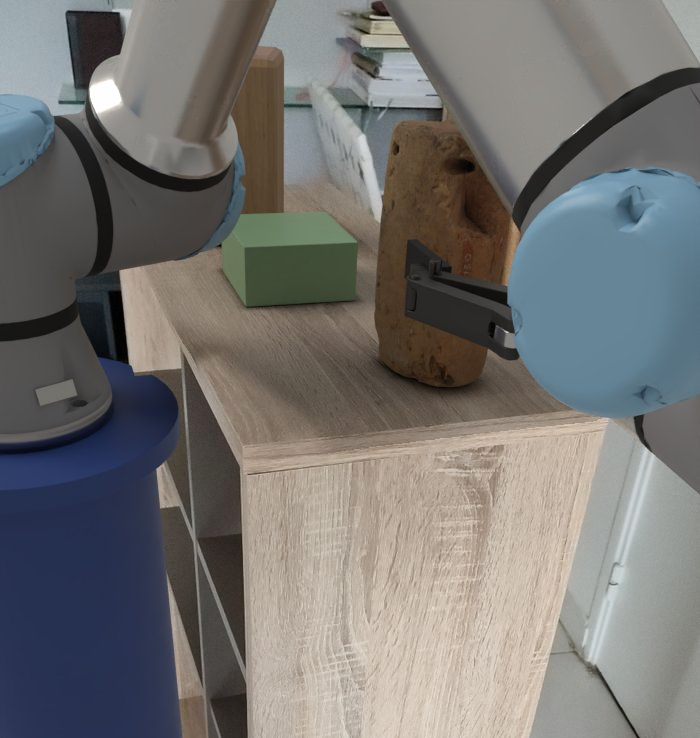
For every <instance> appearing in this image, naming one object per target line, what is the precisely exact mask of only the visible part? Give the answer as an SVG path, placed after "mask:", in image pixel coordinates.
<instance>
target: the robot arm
mask: <svg viewBox="0 0 700 738" xmlns="http://www.w3.org/2000/svg"><path fill="white" fill-rule="evenodd" d="M277 1H278V0H133V5H132V9H131V12H130V16H129V20H128V24H127V28H126V31H125V34H124V39H123V42H122V45H121V49H120V53H119V54H117V55H114V56H111V57H109V58H107V59H105V60H104V61H102V62H101V63H99V65H97V67H96V68H95V69H94V71H93V73H92V75H91V77H90V80H89V85H88V88H87V92H86V97H85V100H84V104H83V108H82V109H81V111H79V112H78V113H69V114H58V115H53V114H52V112H51V110H50V108H49V106H48V105H47V104H46V103H45V102H44V100H41V99H40V98H37V97H35V96H31V95H23V94H13V93H12V94H11V93H0V454H22V453H32V452H39V451H45V450H50V449H54V448H58V447H62V446H65V445H69V444H72V443H74V442H77V441H79V440H82V439H84V438H86V437H88V436H90V435H92V434H93V433H95V432H97V431H98V430H100V429H101V428H102V427H103V426H104V425H105V424H106V423H107V422H108V421H109V420H110V418H111V416H112V414H113V410H114V406H113V398H112V390H111V385H110V382H109V381H108V378H107V376H106V374H105V372H104V370H103V368H102V366H101V364H100V362H99V359H98V355H97V353H96V351H95V349H94V347H93V345H92V343H91V341H90V339H89V336H88V334H87V333H86V330H85V328H84V327H83V324H82V322H81V321H82V320H81V318H80V311H79V304H78V298H77V289H76V281H77V280H80V279H84V278H88V277H89V278H90V277H95V276H97V275H103V274H108V273H113V272H118V271H123V270H130V269H135V268H140V267H145V266H150V265H157V264H161V263H162V264H163V263H167V262H178V261H179V262H180V261H183V260H187V259H190V258H193V257H196V256H198V255H199V254H200V253H205V252H208V251H210V250H212V249H215V248H217V247H218V246H219V244H221V243H222V242H223V241H224V240H225V239H226V238H227V237H228V236H229V235H230V233H231V232H232V231H233V229H234V227H235V226H236V224H237V222H238V219H239V217H240V214H241V211H242V208H243V203H244V197H245V188H244V186H242V184H241V181H240V180H241V177H242V176H244V175H245V164H244V158H243V154H242V150H241V148H240V145H239V141H238V135H237V130H236V126H235V123H234V120H233V118H232V116H231V114H230V113H231V111H232V108H233V106H234V104H235V101H236V99H237V96H238V94H239V91H240V89H241V87H242V84H243V82H244V79H245V77H246V74H247V72H248V69H249V67H250V65H251V62H252V60H253V57H254V55H255V52H256V50H257V48H258V46H260V43H261V40H262V38H263V35H264V33H265V31H266V28H267V26H268V23H269V21H270V18H271V15H272V13H273V11H274V9H275V7H276V3H277ZM380 1H381V2H382V4H383V5H384V8H385V9H386V10H387V12H388V14H389V16H390V17H391V19H392V21H393V23H394V24H395V26H396V28H397V29H398V31H399V32H400V34H401V36H402V38H403V39H404V41H405V42H406V44H407V45H408V47H409V49H410V51H411V53H412V54H413V56H414V57H415V59H416V61H417V62H418V64H419V66H420V68H421V70H422V71H423V73H424V74H425V76H426V78H427V79H428V81H429V83H430V84H431V86H432V87H433V89H434V91H435V93H436V95H437V96H438V98H439V100H440V101H441V103H442V105H443V106H444V108H445V110H446V112H447V113H448V114H449V116H450V118H451V120H452V121H454V123H455V124H456V126H457V128H458V129H459V131H460V133H461V134H462V136H463V138H464V139H465V141H466V143H467V145H468V146H469V148H470V150H471V151H472V153H473V155H474V156H475V158H476V160H477V161H478V163H479V165H480V166H481V168H482V170H483V171H484V173H485V175H486V176H487V178H488V180H489V181H490V183H491V185H492V186H493V188H494V190H495V191H496V193H497V195H498V196H499V198H500V200H501V201H502V203H503V205H504V206H505V208H506V210H507V211H508V213H509V215H510V219H511V220H512V222H513V224H514V225H515V227H516V228H517V230H518V232H519V233H520V235H521V239H520V241H519V243H518V245H517V247H516V249H515V252H514V255H513V258H512V264H511V268H510V273H509V277H508V281H507V285H505V284H499V283H498V284H496V283H492V282H487V281H483V280H479V279H474V278H470V277H465V276H461V275H457V274H452V273H451V271H452V266H451V265H449V264H448V263H447V262H445V261H444V260H443V259H442V258H440V257H439V256H438V255H437V254H435V253H434V252H433V251H431V250H430V249H429V248H428V247H426V246H425V245H424V244H423V243H421V242H420V241H419V240H418V239H409V240H407V250H406V262H405V275H404V278H405V279H406V291H405V303H404V316H406V317H409V318H411V319H414V320H416V321H419V322H421V323H424V324H427V325H429V326H432V327H434V328H437V329H440V330H442V331H445V332H447V333H450V334H453V335H455V336H458V337H460V338H463V339H466V340H468V341H471V342H473V343H476V344H478V345H481V346H484V347H486V348H488V350H489V351H491V352H492V353H494V354H495V355H496V356H498V357H500V359H503V360H505V361H508V362H509V361H510V362H512V361H517V360H519V359H521V361H522V363H523V365H524V366H525V368H526V369H527V371H528V372H529V374H530V375H531V377H532V378H533V379H534V380H535V382H536V383H537V384H538V385H539V386H540V387H541V388H542V389H543V390H544V391H545V392H546V393H547V394H549V395H550V396H551V397H552V398H554V399H555V400H556V401H558V402H559V403H561V404H563V405H565V406H567V407H568V408H571V409H573V410H575V411H577V412H580V413H582V414H584V415H587V416H588V415H589V416H593V417H597V418H602V419H603V418H604V419H611V420H612V421H613V422H614V423H616V424H617V425H618V426H619V427H621V428H622V429H623V430H624V431H626V432H627V433H628V434H629V435H630V436H632V437H633V438H634V439H635V440H636V441H638V442H639V443H641V444H642V445H643V446H644V448H646V450H648V451H649V452H650V453H652V455H654V456H655V457H656V458H657V459H658V460H659V461H661V462H662V463H663V464H664V465H665V466H666V467H667V468H668V469H670V471H672V472H673V473H674V474H675V475H676V476H678V477H679V478H680V479H681V480H682V481H683V482H684V483H685V484H687V485H688V486H689V487H690V488H691V489H692V490H694V491H695V493H697V494H698V495H700V61H699V59H698V58H697V56H696V55H695V52H694V51H693V49H692V48H691V46H690V44H689V43H688V41H687V40H686V38H685V36H684V34H683V33H682V31H681V29H680V28H679V26H678V25H677V23H676V21H675V20H674V18H673V16H672V15H671V13H670V11H669V10H668V8H667V7H666V5H665V3H664V1H663V0H380Z"/></svg>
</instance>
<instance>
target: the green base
mask: <svg viewBox="0 0 700 738" xmlns="http://www.w3.org/2000/svg"><path fill="white" fill-rule="evenodd" d="M358 251H359V242H358V240H356V238H355V237H353V236H352V235H351V234H350V233H349V232H348V231H347V230H346V229H344V227H342V226H341V225H340V224H339V223H338V222H337V221H336V220H335V219H334V218H333V217H332V216H331V215H330V214H329V213H327V212H326V211H302V212H301V211H299V212H284V213H265V214H240V217H239V219H238V222H237V224H236V226H235V227H234V229H233V231H232V232H231V233H230V235H229V236H228V237H227V238H226V239H225V240H224V241H223V242H222V245H221V259H222V260H221V262H222V272H223V274H224V275H225V276H226V278H227V280H228V281H229V283H230V284H231V286H232V288H233V289H234V291H235V292H236V294H237V296H238V297H239V298H240V300H241V302H242V303H243V305H244V306H245V308H250V307H253V308H254V307H267V306H269V307H270V306H283V305H301V304H315V303H333V302H334V303H335V302H349V301H356V292H357V291H356V290H357V274H358V273H357V271H358V254H359V253H358Z"/></svg>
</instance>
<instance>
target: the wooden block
mask: <svg viewBox="0 0 700 738" xmlns="http://www.w3.org/2000/svg"><path fill="white" fill-rule="evenodd" d="M230 114H231V116H232V118H233V120H234V123H235V126H236V130H237V135H238V141H239V145H240V148H241V150H242V154H243V158H244V164H245V175H244V176H242V177H241V180H240V181H241V184H242V186H244V188H245V197H244V203H243V208H242V211H241V214H265V213H285V198H284V197H285V55H284V53H283V50H282V49H280V48H278V47H277V46H266V45H258V48H257V50H256V52H255V55H254V57H253V60H252V62H251V65H250V67H249V69H248V72H247V74H246V77H245V79H244V82H243V84H242V87H241V89H240V91H239V94H238V96H237V99H236V101H235V104H234V106H233V108H232V111H231V113H230ZM219 245H221V246H222V243H221V244H219ZM219 245H218V246H219Z"/></svg>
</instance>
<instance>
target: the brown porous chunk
mask: <svg viewBox="0 0 700 738" xmlns="http://www.w3.org/2000/svg"><path fill="white" fill-rule="evenodd" d="M381 204H382V205H381V215H380V225H379V237H378V247H377V258H376V261H377V262H376V275H375V293H374V314H373V317H374V318H373V320H374V328H375V331H376V334H377V339H378V353H379V357H380V359H381V360H382V362H383V363H384V364H385V365H386V366H387V367H388V368H390V369H391V370H392V371H394V372H395V373H397V374H399V375H401V376H402V377H405V378H409V379H416V381H417V382H420V383H423V384H425V385H429V386H430V387H431V386H432V387H435V388H445V387H446V388H457V387H463V386H466V385H469V384H471V383H473V382H475V381H477V380H478V379H479V377H481V375H482V374H483V371H484V368H485V365H486V364H485V363H486V360H487V356H488V353H489V352H488V351H489V349H488V348H486V347H484V346H481V345H478V344H476V343H473V342H471V341H468V340H466V339H463V338H460V337H458V336H455V335H453V334H450V333H447V332H445V331H442V330H440V329H437V328H434V327H432V326H429V325H427V324H424V323H421V322H419V321H416V320H414V319H411V318H409V317H406V316H404V303H405V291H406V279H405V278H404V275H405V262H406V250H407V240H409V239H418V240H419V241H420V242H421V243H423V244H424V245H425V246H426V247H428V248H429V249H430V250H431V251H433V252H434V253H435V254H437V255H438V256H439V257H440V258H442V259H443V260H444V261H445V262H447V263H448V264H449V265H451V266H452V271H451V273H452V274H457V275H461V276H465V277H470V278H474V279H479V280H483V281H487V282H492V283H496V284H499V283H500V280H501V274H502V272H503V271H502V270H503V268H504V263H505V256H506V249H507V246H508V239H509V234H510V233H509V232H510V226H511V216H510V215H509V213H508V211H507V210H506V208H505V206H504V205H503V203H502V201H501V200H500V198H499V196H498V195H497V193H496V191H495V190H494V188H493V186H492V185H491V183H490V181H489V180H488V178H487V176H486V175H485V173H484V171H483V170H482V168H481V166H480V165H479V163H478V161H477V160H476V158H475V156H474V155H473V153H472V151H471V150H470V148H469V146H468V145H467V143H466V141H465V139H464V138H463V136H462V134H461V133H460V131H459V129H458V128H457V126H456V124H455V123H454V121H453V120H452V119H451V120H450V119H449V120H448V119H447V120H443V121H439V120H438V121H437V120H435V121H430V120H422V119H421V120H420V119H406V120H400V121H398V122H396V124H394V127H393V130H392V133H391V138H390V143H389V148H388V154H387V163H386V168H385V175H384V188H383V195H382V203H381Z"/></svg>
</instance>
